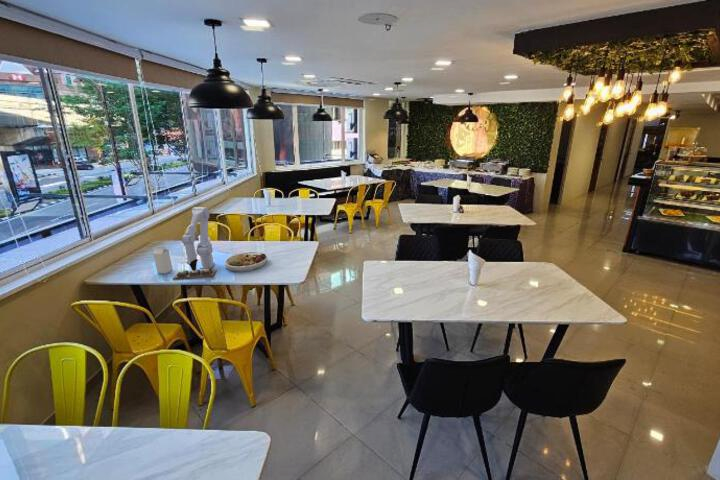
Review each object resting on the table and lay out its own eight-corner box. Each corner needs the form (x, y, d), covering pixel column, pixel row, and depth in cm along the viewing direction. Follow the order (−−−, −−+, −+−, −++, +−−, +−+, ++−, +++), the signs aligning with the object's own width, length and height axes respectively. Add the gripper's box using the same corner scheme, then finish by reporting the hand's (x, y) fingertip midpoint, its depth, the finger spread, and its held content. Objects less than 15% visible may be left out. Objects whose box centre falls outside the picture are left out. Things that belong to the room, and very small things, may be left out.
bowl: (223, 275, 244) (221, 265, 242) (227, 260, 272) (225, 251, 269) (268, 270, 251) (266, 259, 249) (267, 256, 279) (266, 246, 277)
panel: (179, 273, 250) (178, 269, 249) (217, 270, 252) (216, 266, 251) (173, 279, 240) (172, 275, 239) (212, 277, 242) (211, 272, 241)
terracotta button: (205, 272, 247) (204, 268, 246) (210, 271, 247) (209, 268, 246) (203, 274, 243) (202, 270, 242) (208, 273, 244) (208, 270, 243)
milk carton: (166, 273, 250) (160, 248, 244) (157, 273, 252) (151, 248, 246) (173, 269, 257) (167, 245, 251) (164, 269, 258) (159, 244, 252)
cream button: (193, 272, 246) (192, 269, 245) (198, 272, 246) (197, 269, 245) (191, 274, 243) (190, 271, 242) (196, 274, 243) (196, 271, 242)
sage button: (181, 273, 245) (180, 270, 245) (186, 273, 246) (186, 269, 245) (179, 275, 242) (178, 272, 241) (184, 275, 242) (184, 271, 241)
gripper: (188, 248, 246) (192, 266, 250) (180, 255, 232) (184, 274, 236) (198, 247, 246) (202, 265, 251) (191, 255, 233) (195, 274, 237)
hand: (194, 270), depth 244 cm, fingers closed
